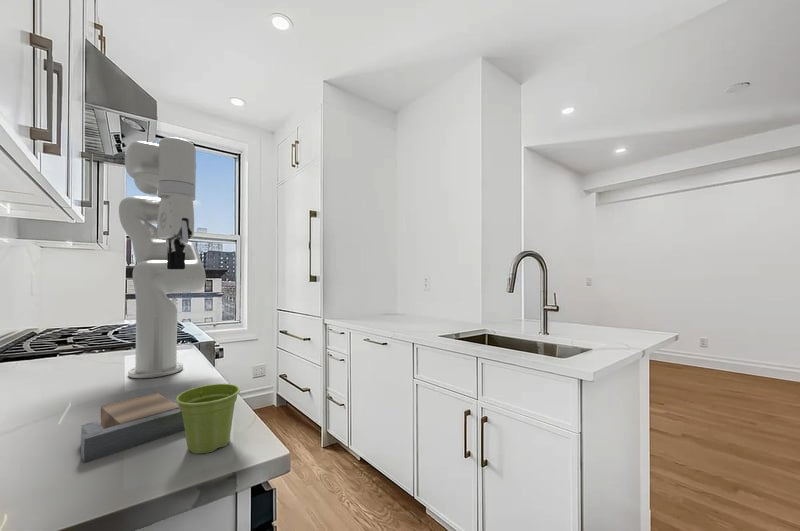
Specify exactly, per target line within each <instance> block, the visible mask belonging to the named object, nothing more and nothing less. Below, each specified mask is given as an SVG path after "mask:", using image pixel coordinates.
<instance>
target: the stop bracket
mask: <svg viewBox="0 0 800 531" xmlns="http://www.w3.org/2000/svg"><path fill="white" fill-rule="evenodd" d="M179 431H180V432H183V431H185V428H184V422H183V416H182V411H181V410H180V408H178V409H174V410H171V411H167V412H163V413H160V414H156V415H153V416H149V417H145V418H142V419H138V420H135V421H131V422H127V423H124V424H120V425H117V426H113V427H109V428H106V429H104V428H103V427H102V426H101V423H99V421H93V422H89V423H86V424H82V425H81V430H80V432H81V434H80V436H81V437H80V439H81V440H80V443H81V446H80V447H81V448H80V449H81V450H80V460H82V462H83V463H87V462H90V461H93V460H97V459H100V458H103V457H105V456H110V455H111V454H116V453H118V452H121V451H124V450H127V449H130V448H133V447H137V446H139V445H142V444H145V443H149V442H151V441H155V440H158V439H160V438H164V437H167V436H170V435H173V434H176V433H178V432H179Z"/></svg>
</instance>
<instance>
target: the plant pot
mask: <svg viewBox="0 0 800 531" xmlns="http://www.w3.org/2000/svg"><path fill="white" fill-rule="evenodd" d="M240 391H241V387H240V386H239V385H237V384H233V383H232V384H230V383H214V384H206V385H201V386H196V387H193V388H190V389H187V390H185V391H182V392H180V393H179V394H178V395H177V396H176V397H175V402H176V404H177V405H179V408H180V410H181V411H182V416H183V422H184V428H185V430H184V433H185V434H184V435H185V440H186V446H187V450H188V451H190V452H191V453H193V454H198V455H199V454H207V453H211V452H214V451H216V450H217V449H218V448H224V447H225V446H226V445H228V444H229V442H230V439H231V432H232V425H233V424H232V423H233V417H234V410H235V403H236V401H237V399H238V394H240Z"/></svg>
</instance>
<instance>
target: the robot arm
mask: <svg viewBox="0 0 800 531" xmlns="http://www.w3.org/2000/svg"><path fill="white" fill-rule="evenodd" d="M196 152H197V150H196V147H195V145H194V143H192V142H191V141H189V140H187V139H183V138H179V137H175V136H173V137H172V136H168V137H167V136H166V137H163V138H161V139H160V140H159V141H158V143H153V142H147V141H143V140H136V141H135V140H134V141H133V142H131V143H130V144H129V145H128V147H127V149H126V152H125V156H124V167H125V171H126V173H127V174H128V176H130V177H131V178H132V179H133V180H134V181H133V182H134V184H135V187H136V188H137V189H138V190H139V191H140V192H142V193H143V194H146V195H149V196H143V195H141V196H140V195H135V196H133V195H132V196H127V197H125V198H123V199H122V200H120V202H119V206H118V218H119V222H120V224H121V226H122V228H123V230H124V232H125V233H126V235H127V236H128V238H129V239H130V240H131V243H132V248H133V254H134V258H135V261H136V264H135V266H134V267H133V269H132V283H133V287H134V295H135V310H136V311H135V366H134V367H133V368H130V369H129V370H128V373H127V374H128V375H127V376H128V377H130V378H133V379H150V378H158V377H159V378H160V377H164V376H169V375H173V374H175V373H178V372H181V371H182V370H183V369H184V366H183V365H184V364H183V363H181V362H178V361H177V357H178V356H177V354H178V353H177V350H178V309H177V306H176V303H174V301H172V299H170V298H169V297H168V296H167V295H169V294H180V293H181V294H182V293H196V292H199V291H201V290H202V289H203V288H204V287H205V285H206V280H207V277H206V270H205V267H204V265H203V261H202V260H201V257H200V254H199V252H198V249H197V247H196V245H195V244H194V243H192V242H191V241H189V240H190V239H192V238H193V237H194V232H195V208H194V201H196V182H197V181H196V179H197V178H196V177H197V176H196V174H197V173H196V172H197V161H196V160H197V153H196ZM152 196H154V197H152ZM155 225H156V226H155Z"/></svg>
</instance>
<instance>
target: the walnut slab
mask: <svg viewBox="0 0 800 531" xmlns="http://www.w3.org/2000/svg"><path fill="white" fill-rule="evenodd" d="M178 408H179V404H178V403H175V402H173V401H172V400H170V399H168V398H167V397H165V396H164V395H162V394H160V393H158V392H154V393H150V394H146V395H143V396H137V397H133V398H129V399H126V400H121V401H118V402H117V401H116V402H113V403H109V404H105V405H100V425H101V426H102V427H103V428H104V429H106V428H109V427H113V426H117V425H120V424H124V423H127V422H131V421H135V420H138V419H142V418H145V417H149V416H153V415H156V414H160V413H163V412H167V411H171V410H174V409H178Z"/></svg>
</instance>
